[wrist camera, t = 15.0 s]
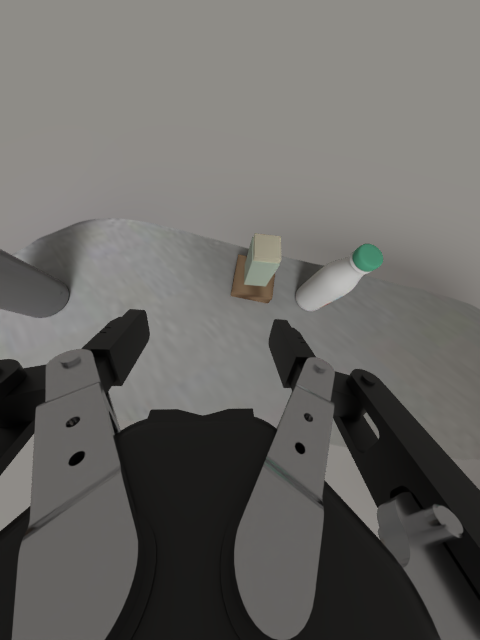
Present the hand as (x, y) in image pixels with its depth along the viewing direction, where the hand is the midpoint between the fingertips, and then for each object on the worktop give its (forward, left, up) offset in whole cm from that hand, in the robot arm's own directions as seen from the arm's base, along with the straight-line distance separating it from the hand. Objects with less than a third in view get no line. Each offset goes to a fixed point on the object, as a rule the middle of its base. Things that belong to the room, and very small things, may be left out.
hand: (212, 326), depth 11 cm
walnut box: (+5, +20, -31) cm, 37 cm away
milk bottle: (+21, +20, -30) cm, 42 cm away
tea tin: (+5, +20, -27) cm, 34 cm away
